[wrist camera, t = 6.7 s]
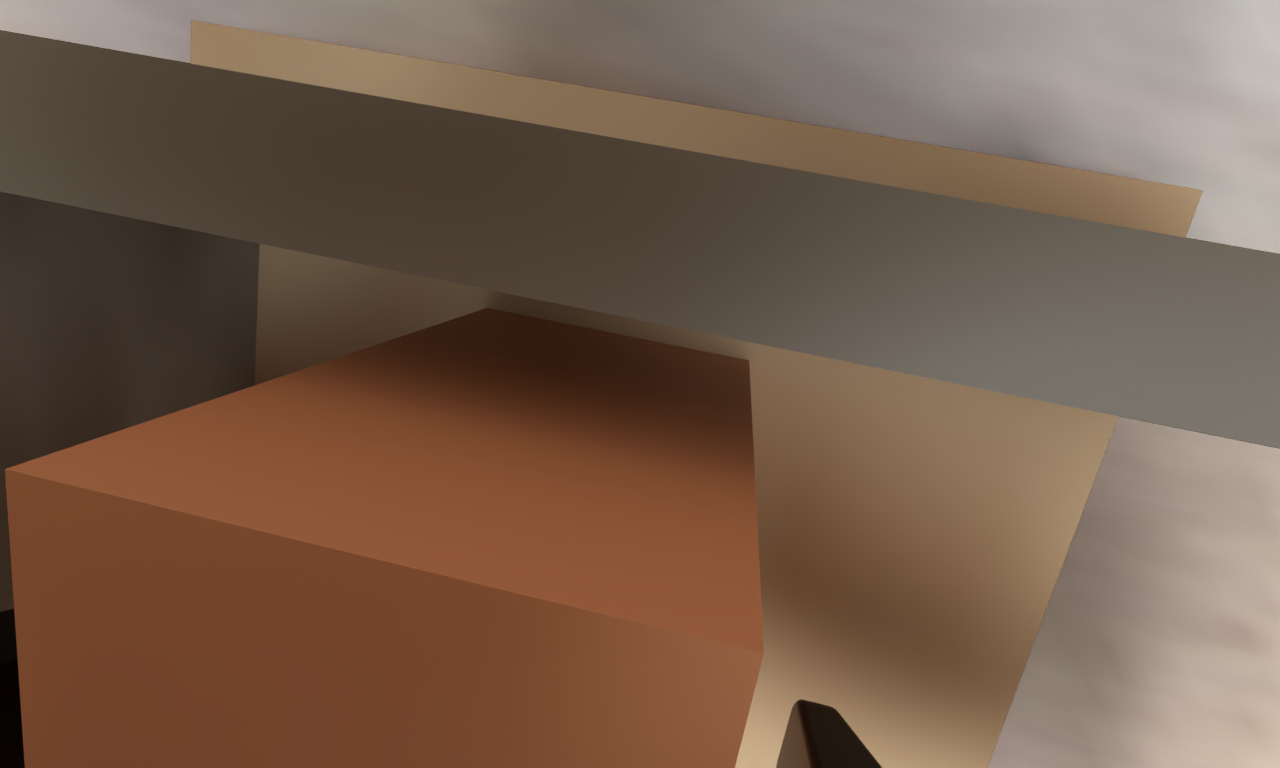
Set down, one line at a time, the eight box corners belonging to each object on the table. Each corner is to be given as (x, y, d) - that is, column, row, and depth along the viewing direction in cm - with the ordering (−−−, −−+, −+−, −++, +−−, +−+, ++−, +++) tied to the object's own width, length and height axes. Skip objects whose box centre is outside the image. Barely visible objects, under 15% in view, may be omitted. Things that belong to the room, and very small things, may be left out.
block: (749, 360, 10) (762, 652, 3) (667, 729, 12) (563, 1440, 5) (486, 307, 10) (4, 468, 4) (443, 672, 12) (58, 1254, 5)
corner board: (901, 890, 13) (1036, 1457, 7) (228, 706, 14) (-134, 1049, 8) (1148, 194, 10) (1787, 149, 4) (248, 41, 11) (-326, -170, 5)
